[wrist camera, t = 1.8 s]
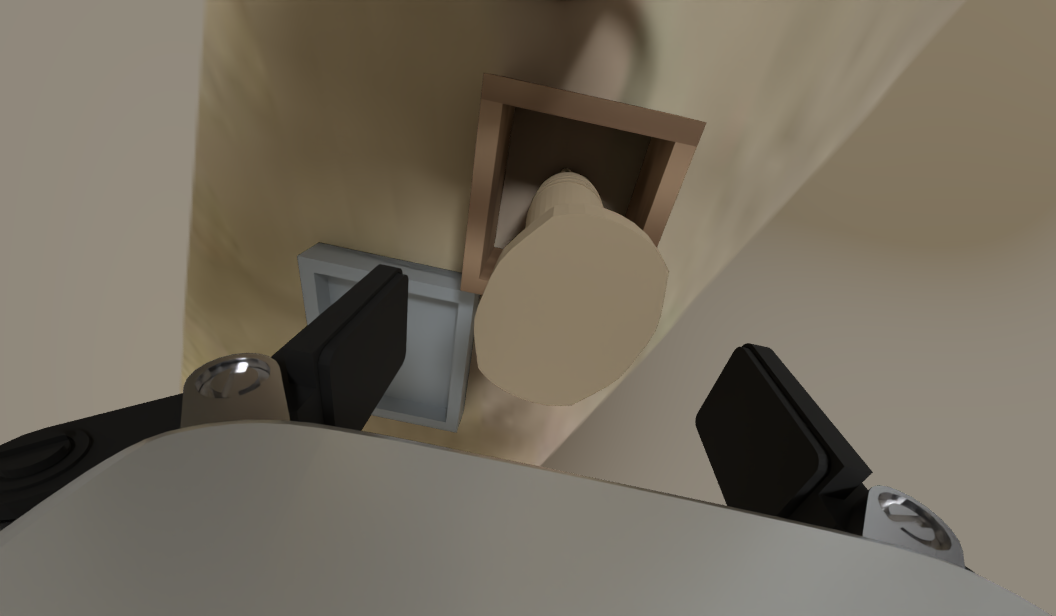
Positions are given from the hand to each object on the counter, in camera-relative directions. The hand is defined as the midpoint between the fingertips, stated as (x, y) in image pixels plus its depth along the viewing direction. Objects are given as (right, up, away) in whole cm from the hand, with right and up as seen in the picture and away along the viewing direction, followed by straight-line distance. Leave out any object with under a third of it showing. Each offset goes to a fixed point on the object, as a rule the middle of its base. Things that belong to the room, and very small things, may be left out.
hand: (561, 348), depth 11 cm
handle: (+1, +8, +13) cm, 16 cm away
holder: (+1, +8, +13) cm, 15 cm away
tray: (-11, -1, +20) cm, 23 cm away
